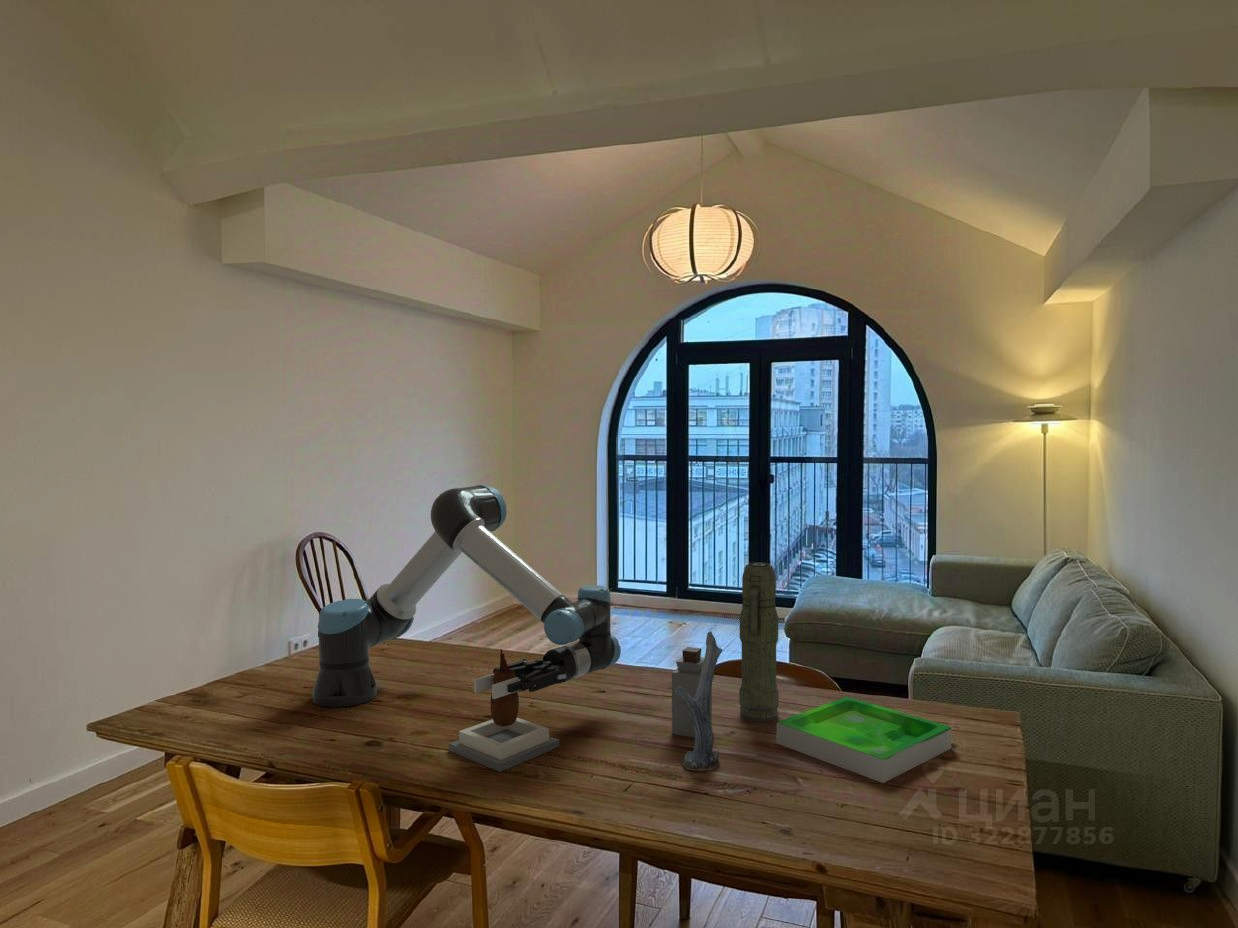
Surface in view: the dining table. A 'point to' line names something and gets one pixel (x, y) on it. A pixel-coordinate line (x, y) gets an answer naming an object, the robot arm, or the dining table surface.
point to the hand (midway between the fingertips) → (484, 688)
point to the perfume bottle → (689, 680)
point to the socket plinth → (503, 743)
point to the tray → (864, 737)
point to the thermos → (759, 643)
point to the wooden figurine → (504, 697)
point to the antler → (702, 712)
